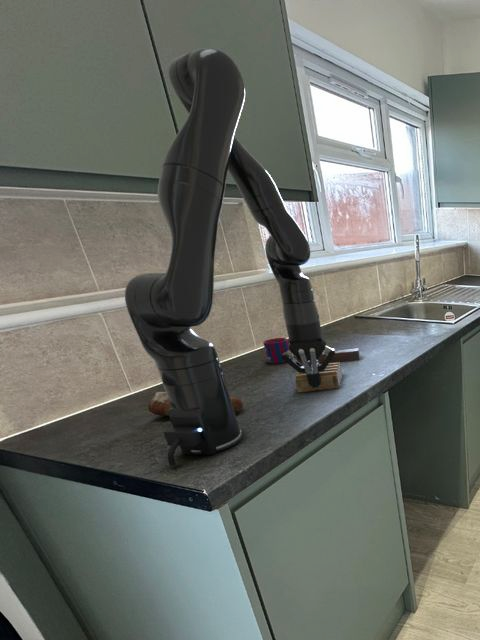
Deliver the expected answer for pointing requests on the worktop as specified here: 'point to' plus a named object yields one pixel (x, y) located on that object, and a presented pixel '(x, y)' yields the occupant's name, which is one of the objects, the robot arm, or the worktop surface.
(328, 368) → the rack
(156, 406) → the bread
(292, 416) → the worktop surface
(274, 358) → the mug
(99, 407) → the worktop surface
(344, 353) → the stop rail
